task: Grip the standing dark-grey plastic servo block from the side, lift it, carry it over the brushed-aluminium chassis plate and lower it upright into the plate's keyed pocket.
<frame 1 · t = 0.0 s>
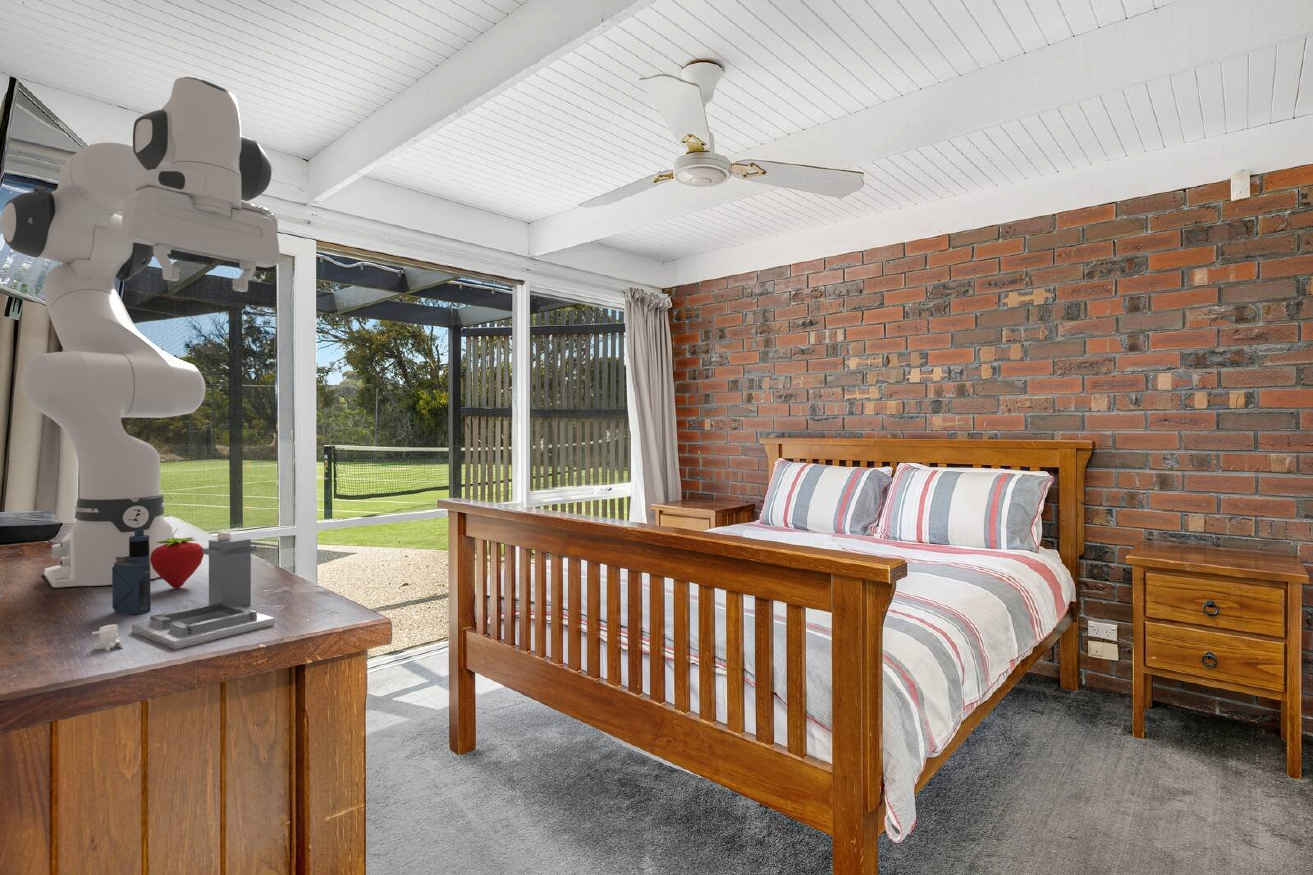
hand: (207, 285, 101), 48 cm above the table, tool pointing down, fingers open, 8 cm apart
servo block: (229, 605, 102), on the table
vaping device: (131, 613, 98), on the table
power adapter: (108, 656, 82), on the table
chassis plate: (204, 628, 91), on the table
strawberry: (177, 589, 112), on the table
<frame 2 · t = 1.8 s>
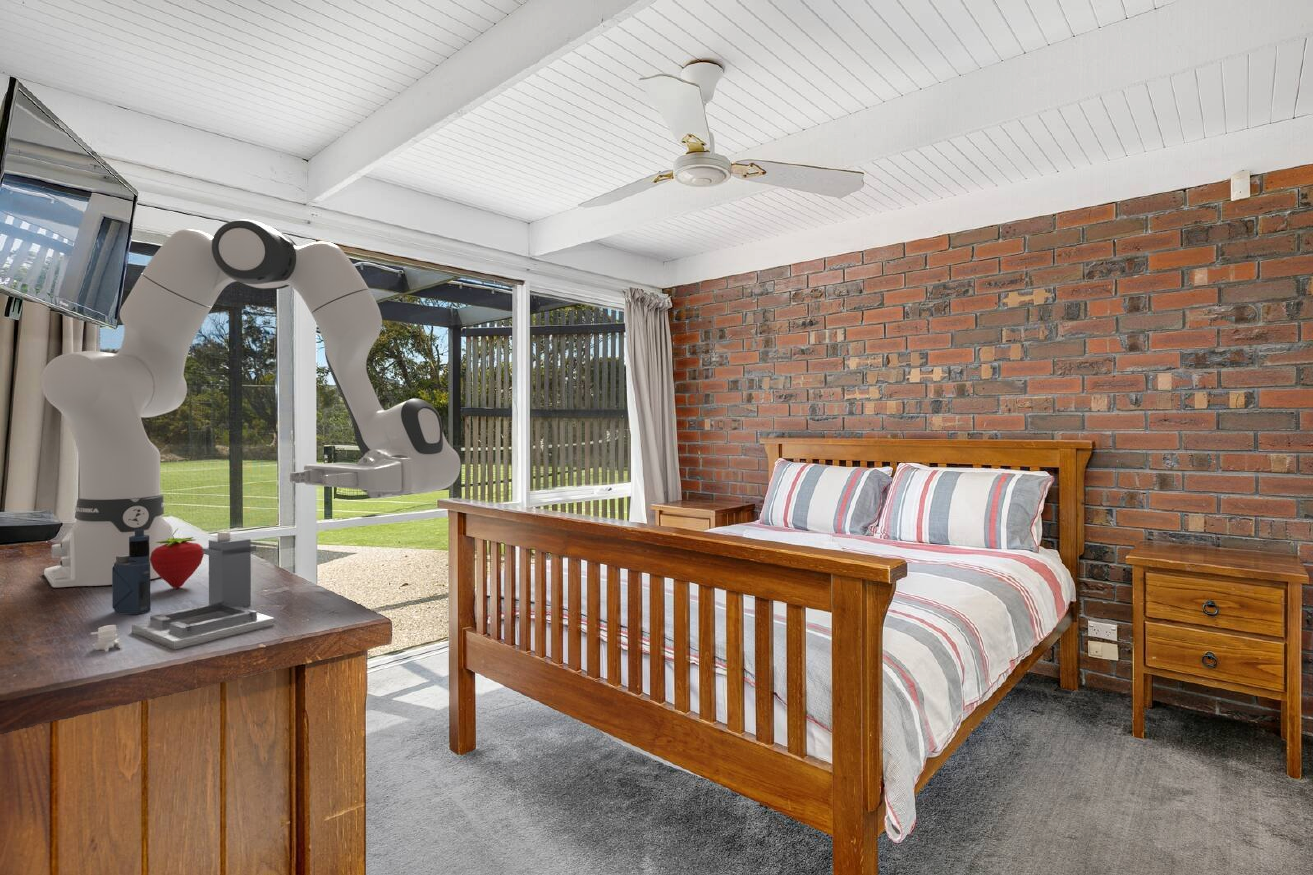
hand: (307, 479, 111), 18 cm above the table, tool horizontal, fingers open, 8 cm apart
nothing on the table moved.
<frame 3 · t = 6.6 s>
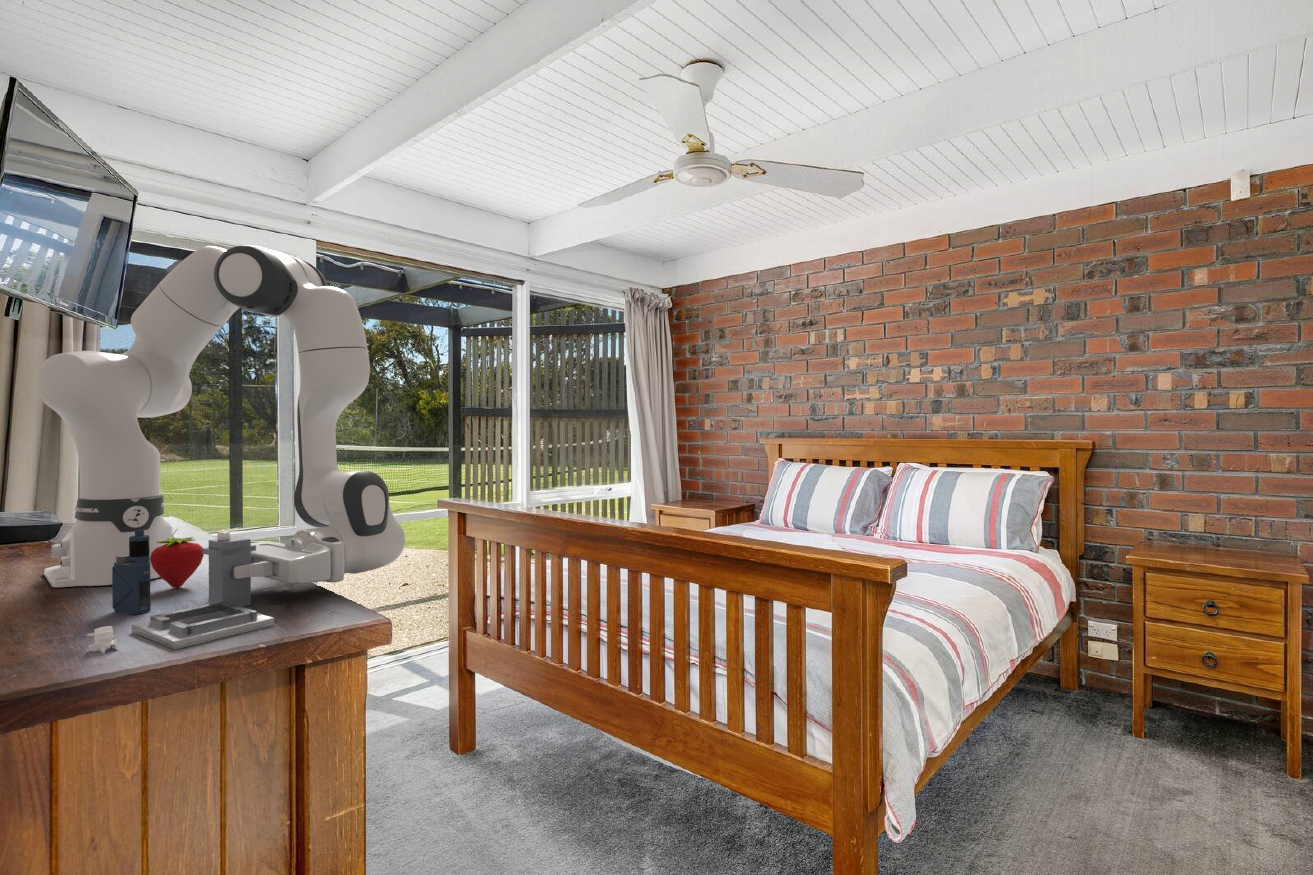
hand: (223, 570, 101), 6 cm above the table, tool horizontal, fingers closed on servo block, 4 cm apart
servo block: (230, 605, 102), on the table, touching gripper
everything else where it was.
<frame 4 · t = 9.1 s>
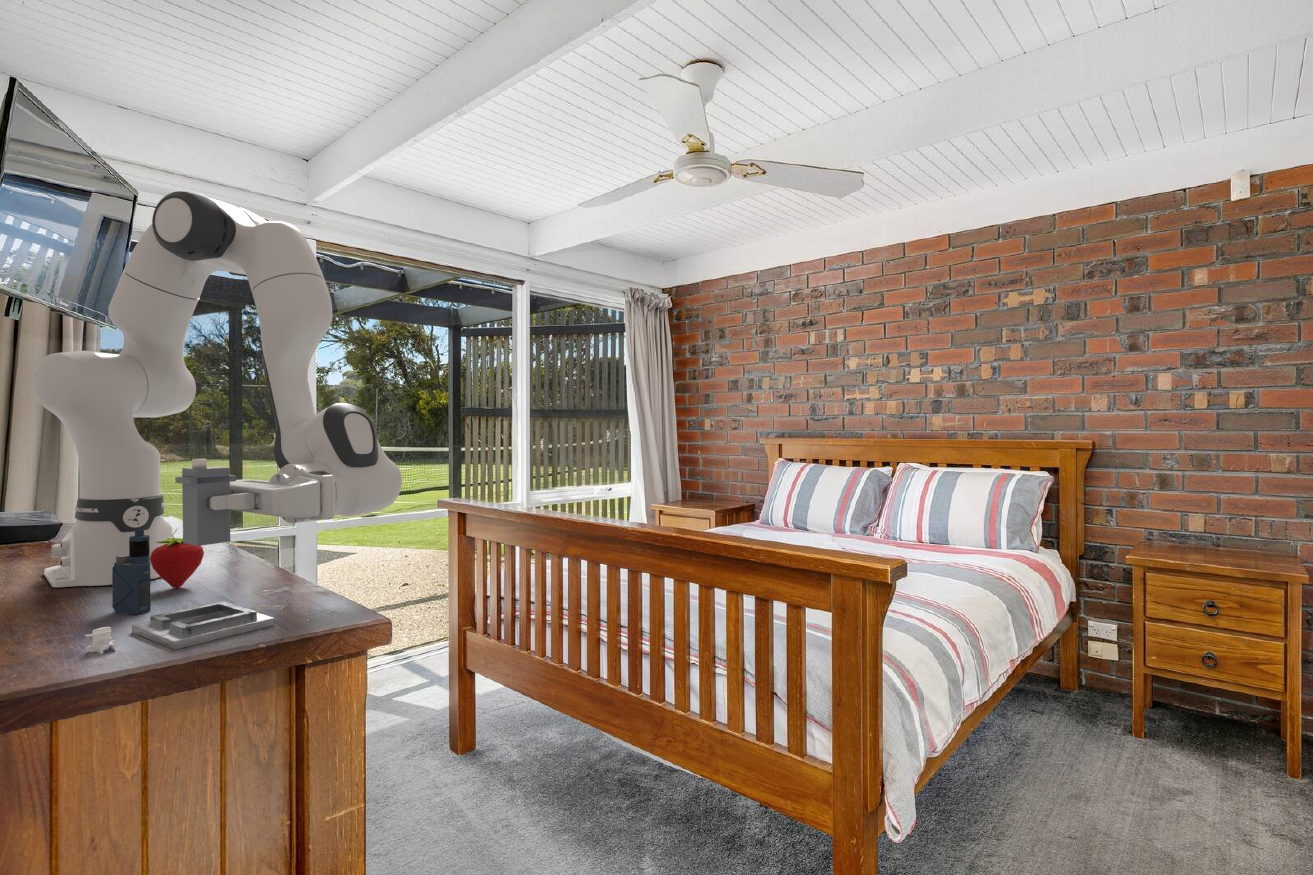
hand: (198, 501, 90), 17 cm above the table, tool horizontal, fingers closed on servo block, 4 cm apart
servo block: (206, 542, 91), point 12 cm above the table, touching gripper
when the fingers open (7 cm above the table, at t = 11.9 s): servo block drops 1 cm, resting in chassis plate.
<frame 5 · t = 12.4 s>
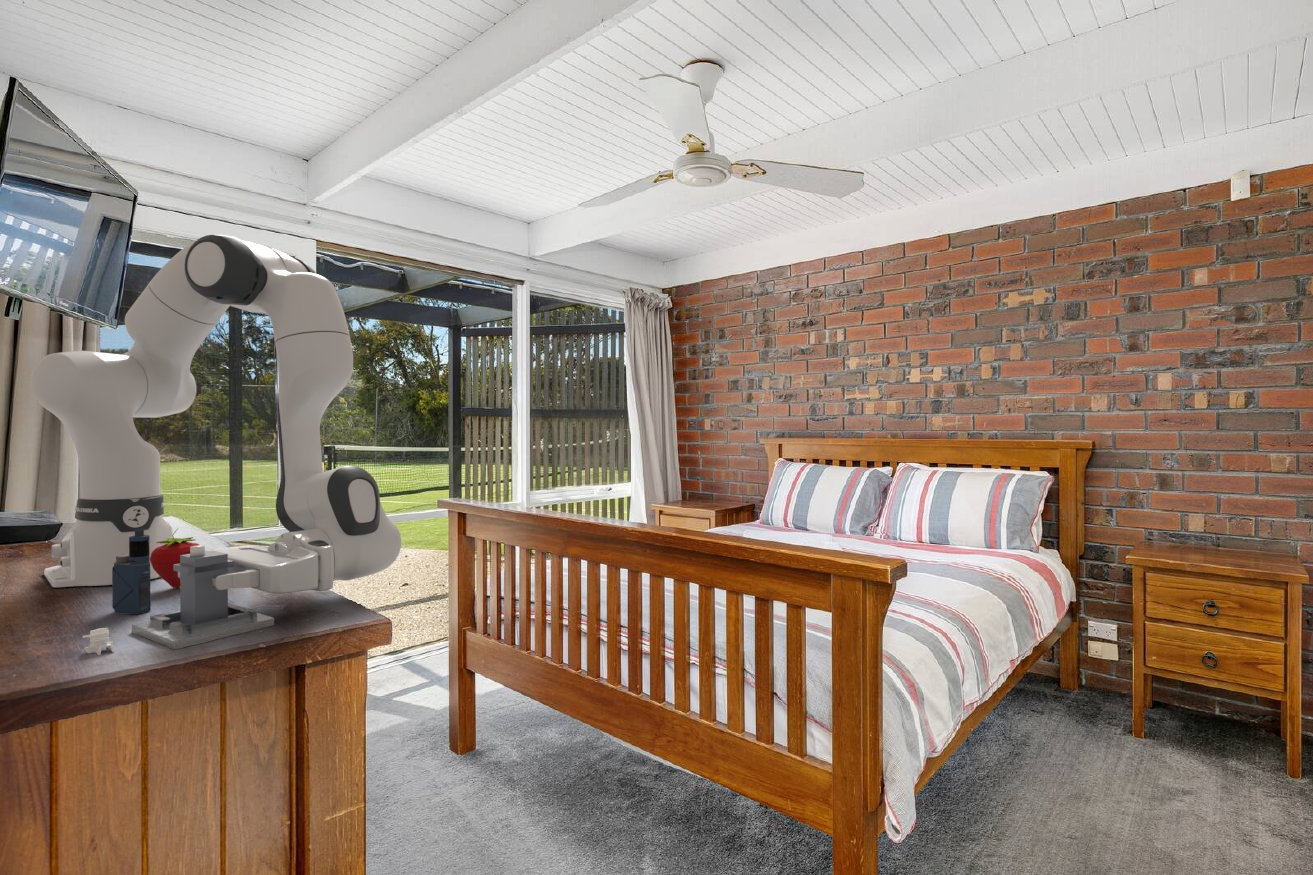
hand: (196, 578, 90), 7 cm above the table, tool horizontal, fingers open, 8 cm apart
servo block: (204, 628, 91), resting in chassis plate
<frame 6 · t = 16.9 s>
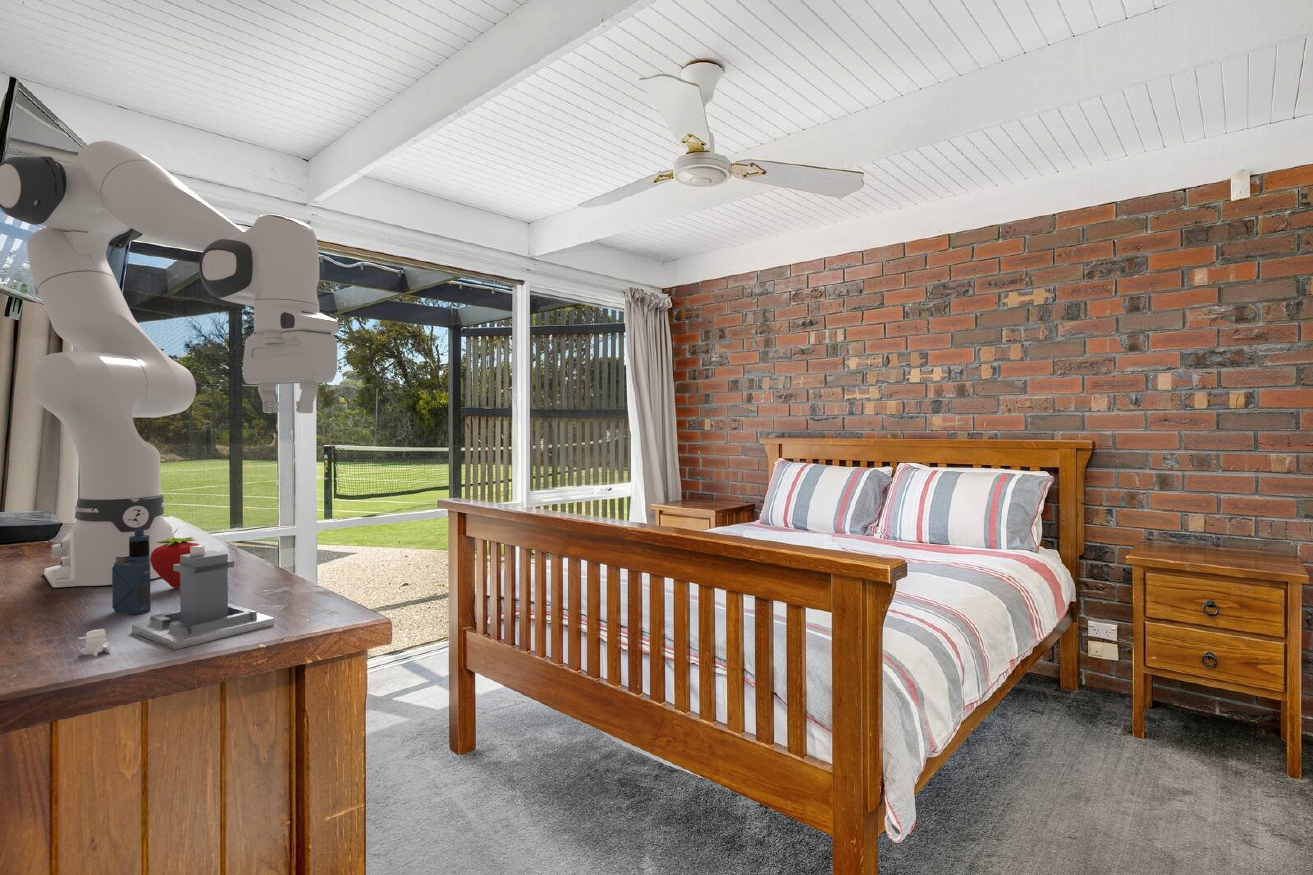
hand: (287, 413, 104), 29 cm above the table, tool pointing down, fingers open, 8 cm apart
at the end: servo block 0.1 cm off-centre on the chassis plate, point 0.0 cm above the chassis plate's base; servo block tilted 0°; the gripper is holding nothing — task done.
